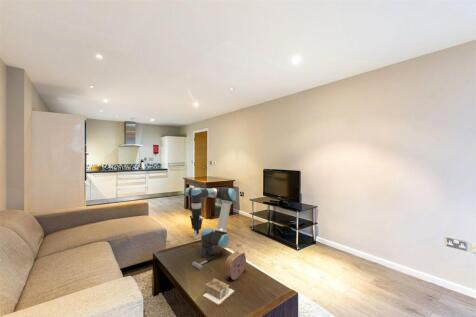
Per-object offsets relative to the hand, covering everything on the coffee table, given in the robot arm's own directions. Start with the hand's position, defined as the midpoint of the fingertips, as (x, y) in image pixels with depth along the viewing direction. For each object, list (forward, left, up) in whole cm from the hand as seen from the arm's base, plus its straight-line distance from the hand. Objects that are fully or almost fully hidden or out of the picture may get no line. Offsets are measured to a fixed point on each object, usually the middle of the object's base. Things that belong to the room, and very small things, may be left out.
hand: (196, 238), depth 161 cm
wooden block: (+6, +20, -26) cm, 34 cm away
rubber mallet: (-21, -8, -30) cm, 38 cm away
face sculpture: (-18, +25, -30) cm, 43 cm away
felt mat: (+6, +29, -29) cm, 41 cm away
